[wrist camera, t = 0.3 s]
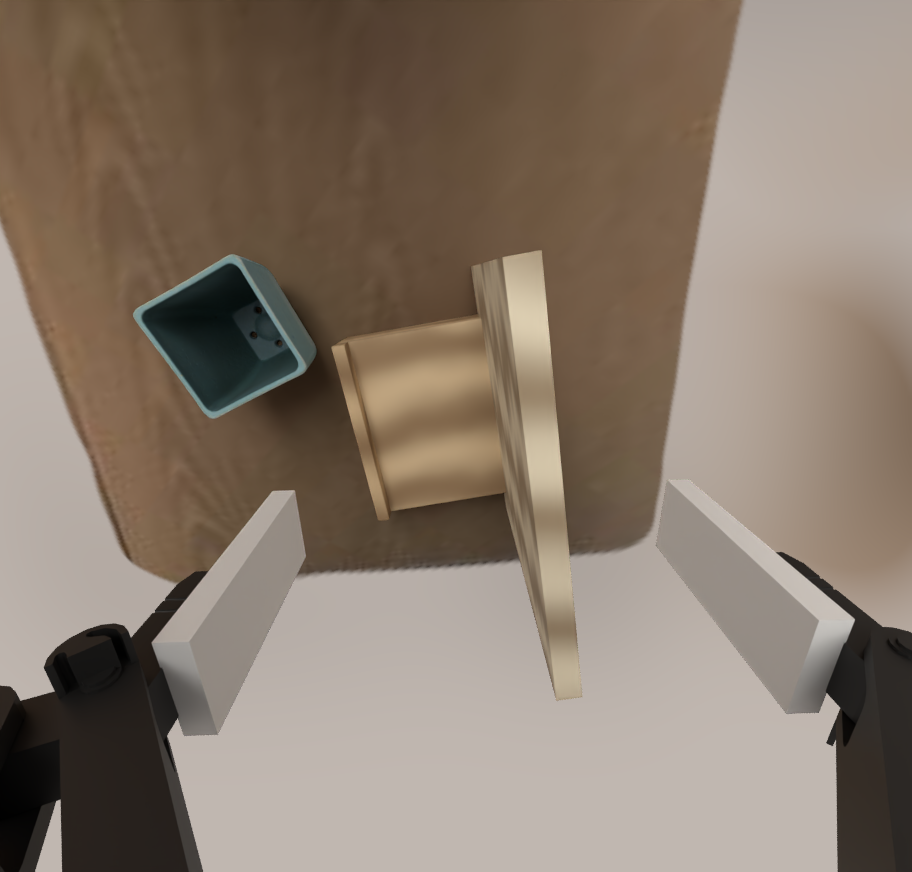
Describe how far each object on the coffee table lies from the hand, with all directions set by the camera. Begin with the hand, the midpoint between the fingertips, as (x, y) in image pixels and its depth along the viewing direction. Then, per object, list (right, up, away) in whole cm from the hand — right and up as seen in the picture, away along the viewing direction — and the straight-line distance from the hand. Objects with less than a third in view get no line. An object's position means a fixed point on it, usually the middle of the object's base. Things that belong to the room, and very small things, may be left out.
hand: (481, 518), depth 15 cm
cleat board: (-4, +5, +26) cm, 27 cm away
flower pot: (-18, +13, +23) cm, 32 cm away
